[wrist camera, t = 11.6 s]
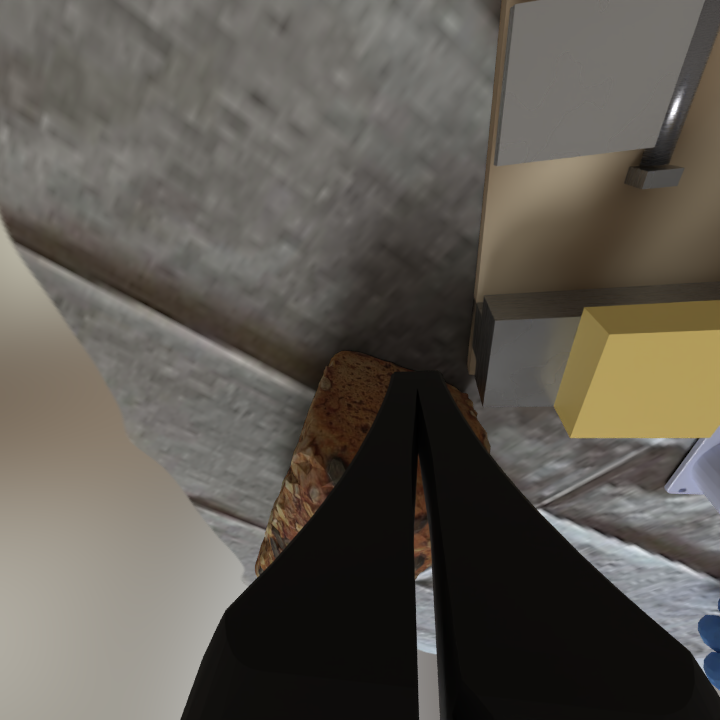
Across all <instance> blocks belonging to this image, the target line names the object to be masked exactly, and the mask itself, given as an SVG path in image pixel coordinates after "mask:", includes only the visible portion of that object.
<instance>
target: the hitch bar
mask: <svg viewBox="0 0 720 720" xmlns="http://www.w3.org/2000/svg"><path fill="white" fill-rule="evenodd" d="M683 171H684V168H683V167H679V166H674V165H669V164H667V165H660V166H644V165H641V166H632V167H629V169H628V172H627V175H626V178H625V181H624V184H627V185H630V186H633V187H636V188H639V189H651V188H662V187H672V186H678V183H679V181H680V178H681V176H682V173H683ZM710 300H720V281H717V282H700V283H683V284H666V285H649V286H632V287H615V288H598V289H581V290H564V291H547V292H530V293H513V294H496V295H484V298H483V302H477V303H475V302H476V300H475V298H474V299H473V310H472V320H471V328H472V325H473V324H472V323H473V322H472V321H473V313H474V312H475V310H474V309H475V307H476V312H475V313H474V315H475V322H474V332H473V342H472V343H471V344H472V348H473V351H474V355H475V358H476V369H475V380H476V384H477V387H478V391H479V395H480V398H481V402H482V406H483V407H534V406H554V403H555V400H556V397H557V393H558V390H559V387H560V384H561V381H562V377H563V374H564V371H565V368H566V364H567V361H568V358H569V355H570V352H571V348H572V345H573V342H574V339H575V335H576V332H577V329H578V326H579V323H580V319H581V316H582V313H583V310H584V307H599V306H618V305H636V304H655V303H673V302H692V301H710ZM475 304H476V306H475ZM471 331H472V330H471ZM470 334H471V333H470ZM470 336H471V335H470ZM470 341H471V340H470Z"/></svg>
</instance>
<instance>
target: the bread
mask: <svg viewBox="0 0 720 720" xmlns="http://www.w3.org/2000/svg"><path fill="white" fill-rule="evenodd" d="M406 371H413V370H409V369H405V368H403V367H400V366H397V365H396V364H394V363H392V362H388V361H383V360H380V359H378V358H375V357H372V356H369V355H367V354H363V353H360V352H354V351H341V352H339V353H337V354H335V355H334V357H332V358H331V361H330V364H329V366H326V368H325V370H324V374H323V377H322V379H321V380H320V382H319V387H318V389H317V391H316V394H315V396H314V398H313V401H312V404H311V406H310V408H309V411H308V415H307V418H306V420H305V422H304V425H303V428H302V432H301V435H300V438H299V442H298V444H297V446H296V448H295V450H294V453H293V457H292V462H291V466H290V468H289V471H288V474H287V475H286V477H285V479H284V480H283V482H282V488H281V491H280V494H279V496H278V498H277V499H276V501H275V503H274V506H273V509H272V511H271V515H270V518H269V522H268V525H267V529H266V532H265V537H264V540H263V542H262V544H261V548H260V551H259V555H258V558H257V561H256V565H255V572H256V575H257V577H258V576H259V575H260V574H261V573H262V572H263V571H264V570H265V569H266V568H267V567H268V566H269V565H270V564H271V563H272V562H273V561H274V560H275V559H276V558H277V557H278V555H279V554H280V553H281V552H282V551H283V550H284V549H285V547H286V546H287V545H288V544H289V543H290V542H291V540H292V539H293V538H294V537H295V536H296V535H297V533H298V532H299V531H300V530H301V529H302V528H303V527H304V525H305V524H306V523H307V522H308V521H309V519H310V518H311V517H312V516H313V514H314V513H315V512H316V511H317V509H318V508H319V507H320V506H321V504H322V503H323V502H324V500H325V499H326V497H327V496H328V495H329V493H330V492H331V491H332V489H333V488H334V487H335V485H336V484H337V482H338V481H339V480H340V478H341V477H342V475H343V474H344V472H345V471H346V469H347V468H348V466H349V464H350V463H351V461H352V460H353V458H354V456H355V455H356V453H357V451H358V450H359V448H360V446H361V444H362V442H363V441H364V439H365V437H366V435H367V433H368V432H369V430H370V428H371V426H372V424H373V422H374V420H375V418H376V415H377V413H378V411H379V409H380V407H381V405H382V402H383V400H384V397H385V395H386V392H387V389H388V386H389V382H390V378H391V375H392V374H393V373H394V372H406ZM446 385H447V387H448V389H449V391H450V393H451V395H452V397H453V399H454V401H455V402H456V404H457V406H458V408H459V409H460V411H461V413H462V414H463V416H464V417H465V419H466V420H467V422H468V424H469V425H470V427H471V428H472V430H473V431H474V433H475V434H476V436H477V437H478V439H479V440H480V441H481V443H482V444H483V445H484V447H485V448H486V450H487V451H488V452H489V454H490V444H489V442H488V439H487V432H486V431H485V430H484V428H483V427H482V426H481V424H480V423H479V421H478V420H477V418H476V416H477V412H476V411H475V410H474V409H473V402H472V401H471V400H470V399H469V398H468V394H466V393H462V392H460V391H459V390H458V389H457V388H455V387H453V386H451V385H449V384H447V383H446ZM414 562H415V579H416V578H417V576H418V575H419V574H420V573H421V572H423V571H424V570H425V569H426V568H428V567H429V566H431V565H432V558H431V543H430V533H429V525H428V518H427V511H426V504H425V497H424V490H423V483H422V476H421V469H420V462H419V455H418V467H417V486H416V504H415V522H414Z"/></svg>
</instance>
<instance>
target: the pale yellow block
mask: <svg viewBox="0 0 720 720" xmlns="http://www.w3.org/2000/svg"><path fill="white" fill-rule="evenodd" d="M554 408H555V410H556V412H557V414H558V415H559V417H560V419H561V421H562V423H563V425H564V427H565V429H566V431H567V433H568V435H569V437H570V438H710V437H711V436H712V435H713V433H714V432H715V431H716V429H717V428H718V427H719V425H720V300H710V301H692V302H673V303H655V304H636V305H618V306H599V307H584V310H583V313H582V316H581V319H580V323H579V326H578V329H577V332H576V335H575V339H574V342H573V345H572V348H571V352H570V355H569V358H568V361H567V364H566V368H565V371H564V374H563V377H562V381H561V384H560V387H559V390H558V393H557V397H556V400H555V403H554Z"/></svg>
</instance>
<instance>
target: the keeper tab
mask: <svg viewBox="0 0 720 720" xmlns="http://www.w3.org/2000/svg"><path fill="white" fill-rule="evenodd" d="M719 30H720V0H537V1H531V2H525V3H519V4H515V5H514V6H512V7H511V8H510V14H509V24H508V33H507V43H506V52H505V62H504V71H503V80H502V90H501V99H500V109H499V118H498V128H497V137H496V146H495V156H494V165H495V166H504V165H512V164H521V163H529V162H537V161H545V160H554V159H562V158H570V157H578V156H587V155H595V154H603V153H611V152H620V151H628V150H636V149H644V148H645V150H644V153H643V156H642V159H641V162H640V165H644V166H660V165H667V164H669V163H670V160H671V158H672V155H673V152H674V150H675V147H676V144H677V142H678V139H679V136H680V134H681V131H682V129H683V126H684V123H685V121H686V118H687V115H688V113H689V110H690V107H691V105H692V102H693V99H694V97H695V94H696V91H697V89H698V86H699V83H700V81H701V78H702V75H703V73H704V70H705V67H706V65H707V62H708V59H709V57H710V54H711V51H712V49H713V46H714V43H715V41H716V38H717V35H718V33H719Z"/></svg>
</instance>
